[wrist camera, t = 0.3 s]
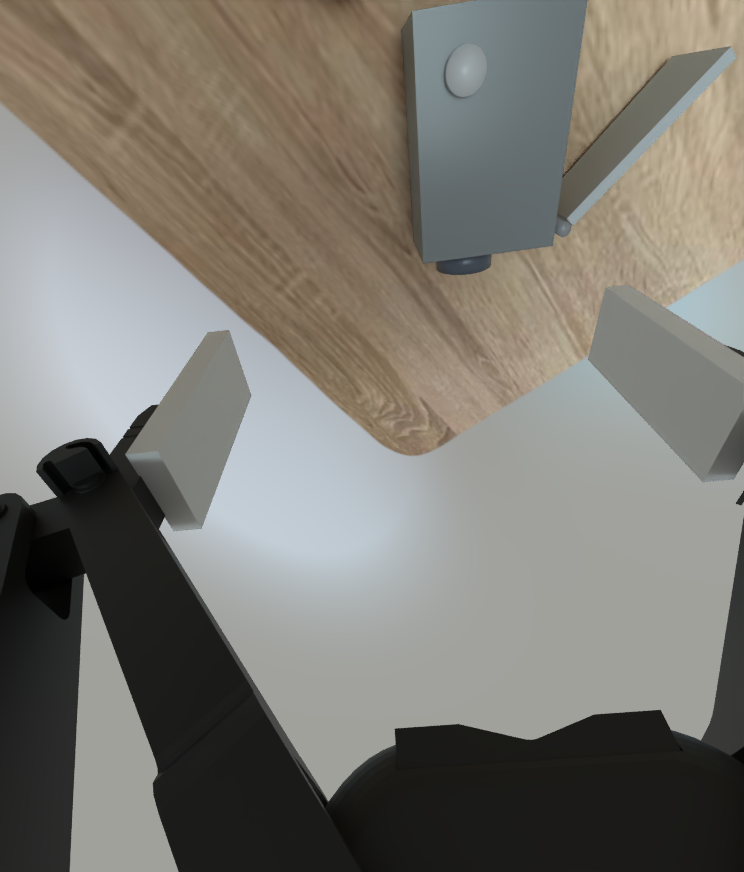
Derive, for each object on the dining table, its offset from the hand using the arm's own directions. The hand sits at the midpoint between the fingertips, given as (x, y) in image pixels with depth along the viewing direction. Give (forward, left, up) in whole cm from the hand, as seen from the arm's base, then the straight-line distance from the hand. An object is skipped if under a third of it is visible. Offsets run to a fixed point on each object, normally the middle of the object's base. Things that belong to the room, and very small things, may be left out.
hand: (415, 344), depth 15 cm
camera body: (-4, +8, -27) cm, 28 cm away
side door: (-2, +18, -27) cm, 32 cm away
